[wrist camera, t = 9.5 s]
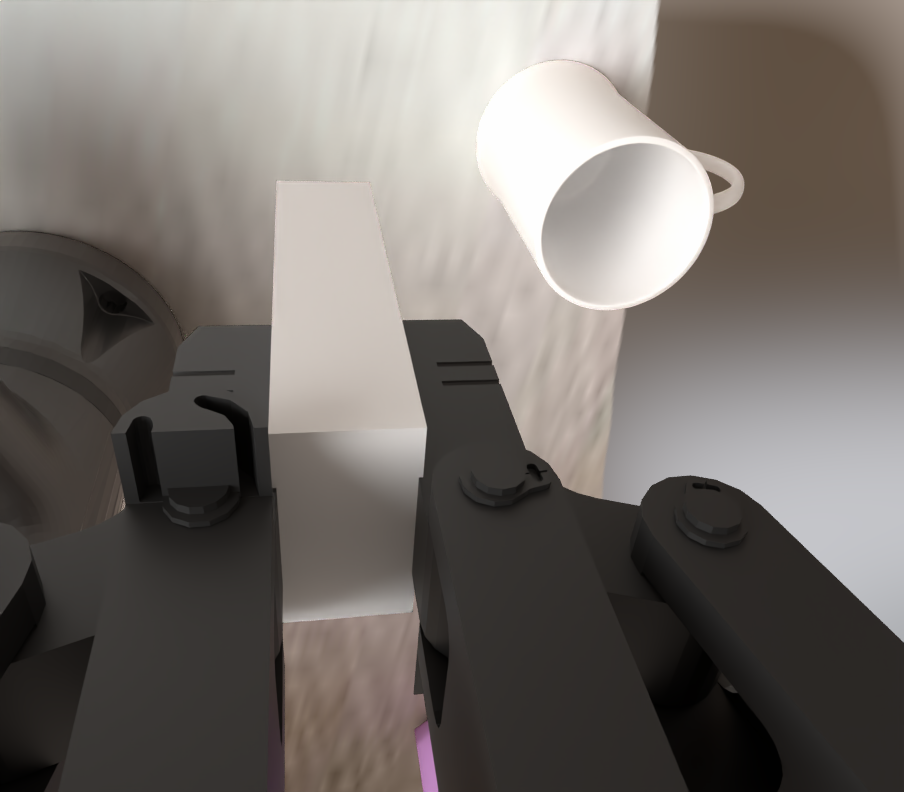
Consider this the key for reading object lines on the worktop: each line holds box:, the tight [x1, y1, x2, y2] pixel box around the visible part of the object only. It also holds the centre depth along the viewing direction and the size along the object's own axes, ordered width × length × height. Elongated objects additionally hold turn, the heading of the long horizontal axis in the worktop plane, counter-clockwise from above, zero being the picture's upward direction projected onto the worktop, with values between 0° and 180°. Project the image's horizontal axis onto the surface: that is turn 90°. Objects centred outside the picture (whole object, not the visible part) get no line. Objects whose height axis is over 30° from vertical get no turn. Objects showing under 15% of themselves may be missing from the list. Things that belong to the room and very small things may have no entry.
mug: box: [476, 60, 744, 310], centre depth 39 cm, size 12×8×12 cm
